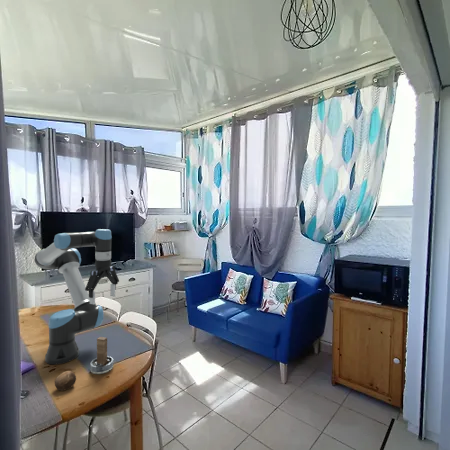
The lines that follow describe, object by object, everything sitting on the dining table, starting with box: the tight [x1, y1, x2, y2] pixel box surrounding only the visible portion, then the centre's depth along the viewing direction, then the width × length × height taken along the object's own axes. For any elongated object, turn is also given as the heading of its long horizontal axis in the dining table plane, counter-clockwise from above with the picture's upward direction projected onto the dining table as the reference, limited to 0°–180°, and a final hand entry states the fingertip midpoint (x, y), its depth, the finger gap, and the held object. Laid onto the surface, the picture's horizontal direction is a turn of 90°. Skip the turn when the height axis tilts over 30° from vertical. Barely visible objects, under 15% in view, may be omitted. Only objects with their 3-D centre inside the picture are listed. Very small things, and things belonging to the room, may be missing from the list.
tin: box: [89, 355, 115, 375], centre depth 135 cm, size 10×10×4 cm
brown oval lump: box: [54, 370, 77, 391], centre depth 121 cm, size 8×8×6 cm
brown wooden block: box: [96, 336, 108, 366], centre depth 135 cm, size 2×4×14 cm, turn 71°
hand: (103, 299), depth 144 cm, fingers open, 13 cm apart
